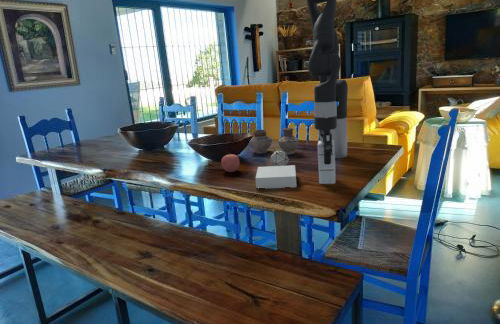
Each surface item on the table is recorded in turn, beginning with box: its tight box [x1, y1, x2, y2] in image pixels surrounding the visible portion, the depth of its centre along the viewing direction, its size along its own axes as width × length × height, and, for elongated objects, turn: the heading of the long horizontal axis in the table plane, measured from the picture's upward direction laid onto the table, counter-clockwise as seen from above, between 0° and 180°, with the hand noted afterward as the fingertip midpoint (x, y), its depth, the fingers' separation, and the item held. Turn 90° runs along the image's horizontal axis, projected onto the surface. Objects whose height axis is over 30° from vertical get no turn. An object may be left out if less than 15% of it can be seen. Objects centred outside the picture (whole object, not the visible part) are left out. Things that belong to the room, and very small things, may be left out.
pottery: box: [248, 127, 300, 155], centre depth 178 cm, size 11×25×12 cm, turn 66°
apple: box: [220, 153, 240, 173], centre depth 151 cm, size 7×7×8 cm
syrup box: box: [317, 140, 336, 185], centre depth 129 cm, size 6×6×14 cm
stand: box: [255, 164, 297, 190], centre depth 134 cm, size 14×14×4 cm
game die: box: [267, 148, 292, 166], centre depth 150 cm, size 9×8×10 cm
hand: (326, 160), depth 129 cm, fingers open, 8 cm apart
